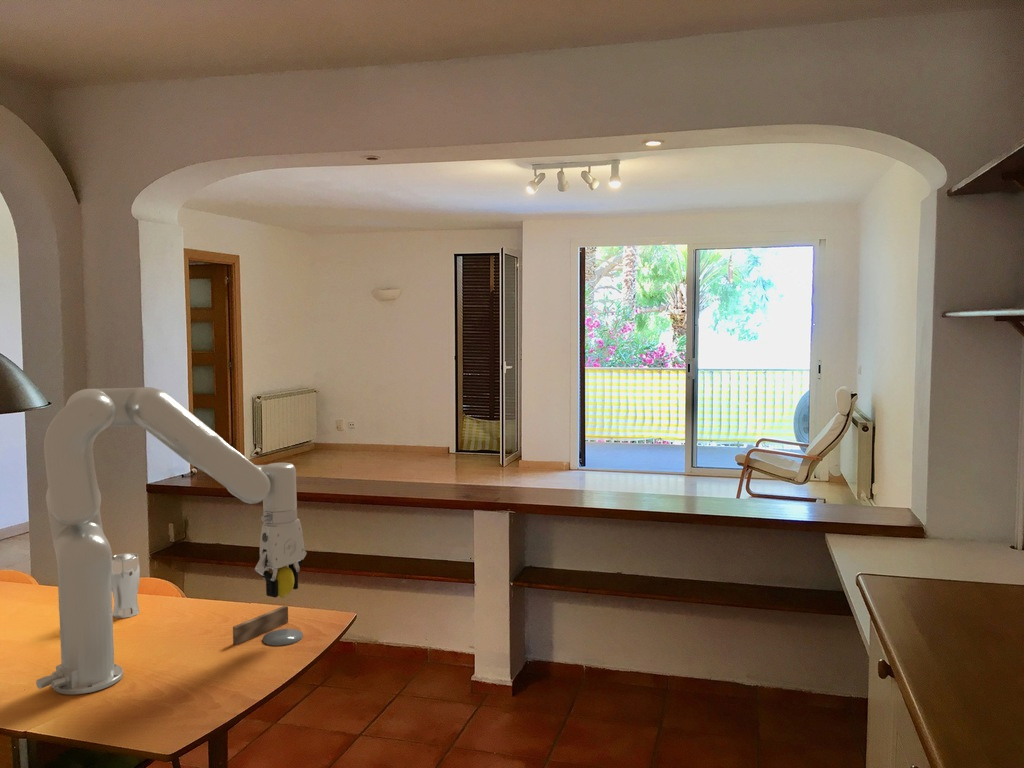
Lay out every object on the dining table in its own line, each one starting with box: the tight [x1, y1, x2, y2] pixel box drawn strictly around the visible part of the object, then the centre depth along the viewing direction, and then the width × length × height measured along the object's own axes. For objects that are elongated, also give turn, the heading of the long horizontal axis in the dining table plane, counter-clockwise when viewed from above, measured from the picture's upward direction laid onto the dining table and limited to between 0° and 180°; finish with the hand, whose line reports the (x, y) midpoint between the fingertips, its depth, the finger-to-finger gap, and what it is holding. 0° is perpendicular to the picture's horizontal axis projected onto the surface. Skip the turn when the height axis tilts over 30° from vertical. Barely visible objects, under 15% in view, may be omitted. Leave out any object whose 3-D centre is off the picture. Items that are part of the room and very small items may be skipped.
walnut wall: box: [232, 605, 289, 646], centre depth 184 cm, size 16×1×4 cm, turn 151°
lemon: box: [275, 566, 294, 599], centre depth 180 cm, size 6×6×8 cm
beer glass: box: [112, 552, 141, 619], centre depth 196 cm, size 7×7×15 cm
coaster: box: [262, 628, 304, 647], centre depth 181 cm, size 9×9×1 cm
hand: (282, 591), depth 180 cm, fingers closed on lemon, 5 cm apart
